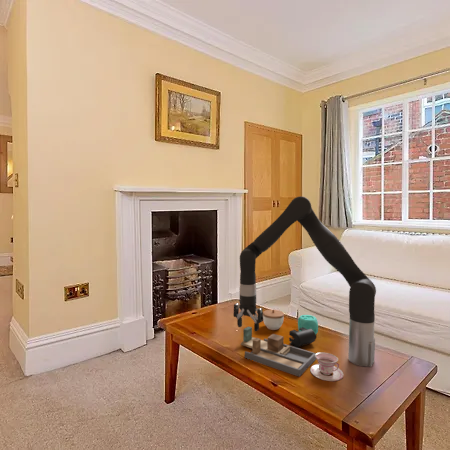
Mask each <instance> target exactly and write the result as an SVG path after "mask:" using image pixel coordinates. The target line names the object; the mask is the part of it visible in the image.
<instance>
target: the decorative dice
mask: <svg viewBox="0 0 450 450" xmlns="http://www.w3.org/2000/svg"><path fill="white" fill-rule="evenodd" d="M302 327H303V328H305V329H312V330H313V331H314V332H315V335H317V334H318V333H319V322H318V319H317V317H316V316H314V315H312V314H301V315H300V316H299V317H298V318H297V329H298V330H297V331H301V330H299V328H302Z"/></svg>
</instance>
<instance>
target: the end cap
mask: <svg viewBox="0 0 450 450" xmlns="http://www.w3.org/2000/svg"><path fill="white" fill-rule="evenodd" d="M299 330H301V331H299ZM299 330H295V329H293V330H289V334H288V335H289V336H290V337H289V338H288V341H289V346H293V347H296V348H300V347H304V346H307V345H310V344H312V343H313V342H315V341H316V337H317V336H316V335H317V334H316V335H315V332H314V331H313V330H312V329H305V328H303V327H302V328H299Z"/></svg>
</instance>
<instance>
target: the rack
mask: <svg viewBox="0 0 450 450" xmlns="http://www.w3.org/2000/svg"><path fill="white" fill-rule="evenodd" d="M267 339H268V338H263V341H267ZM283 346H284V347H287V346H290V351H289V352H288V353H287V354H286V355H282V354H279V353H275V352H272V351H269V350H266V349H263V348H261V349H260V351H263V352H266V353H270V354H273V355H276V356H279V357H282V358H285V359H289V360H292V361H295V362H298V363H301V364H302V366H301V367H300V368H299V369H298V368H295V367H292V366H289V365H286V364H283V363H280V362H277V361H273V360H270V359H267V358H264V357H261V356H258V355H255V354H252V353H253V350H252V351H250V352H249V351H244V359H246V358H247V360H249V359H250V360H249V361H252V360H253V362H255V363H259V364H261V365H264V366H267V367H270V368H273V369H276V370H278V371H281V372H284V373H287V374H290V375H293V376H296V377H301V376H302V375H304V373H305V372H306V370H307V369H309V367H310V366H311V365H312V364H313V363H314V362H315V361H317V359H316V357H315V354H316V352H313V351H310V350H306V349H302V348H300V347H297V348H296V347H294V346H292V345H290V344H286V343H283Z"/></svg>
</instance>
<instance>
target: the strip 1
mask: <svg viewBox="0 0 450 450" xmlns="http://www.w3.org/2000/svg"><path fill="white" fill-rule="evenodd" d="M242 331H243V334H242V336H243V340H242V341H241V342H240V346H243V347H247V348H250V349H253V340H254V339H255V338H256V337H253V327H252V326H246V327H245V328H243V330H242ZM290 346H291V345H289V346H287V347H284V346H283V349H282V350H280V351H279V352H275V351H272V350H269V349H267V341H264V339H261V348H263V349H266V350H269V351H272V352H275V353H279V354H282V355H286V354H287V353H288V352H289V351H290Z"/></svg>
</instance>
